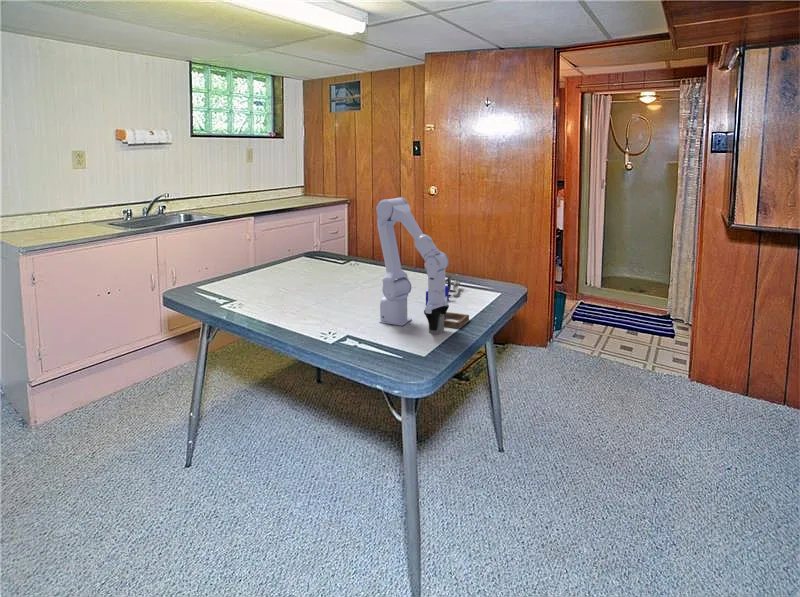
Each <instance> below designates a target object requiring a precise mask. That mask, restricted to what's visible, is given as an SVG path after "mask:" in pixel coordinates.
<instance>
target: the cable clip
mask: <svg viewBox="0 0 800 597" xmlns="http://www.w3.org/2000/svg"><path fill="white" fill-rule="evenodd" d="M449 292H450V291H449V286H448V285H445V297H447V301H449V300H450V297H449V294H450V293H449ZM427 302H428V290H427V291H425V307H426V306H427Z"/></svg>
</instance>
